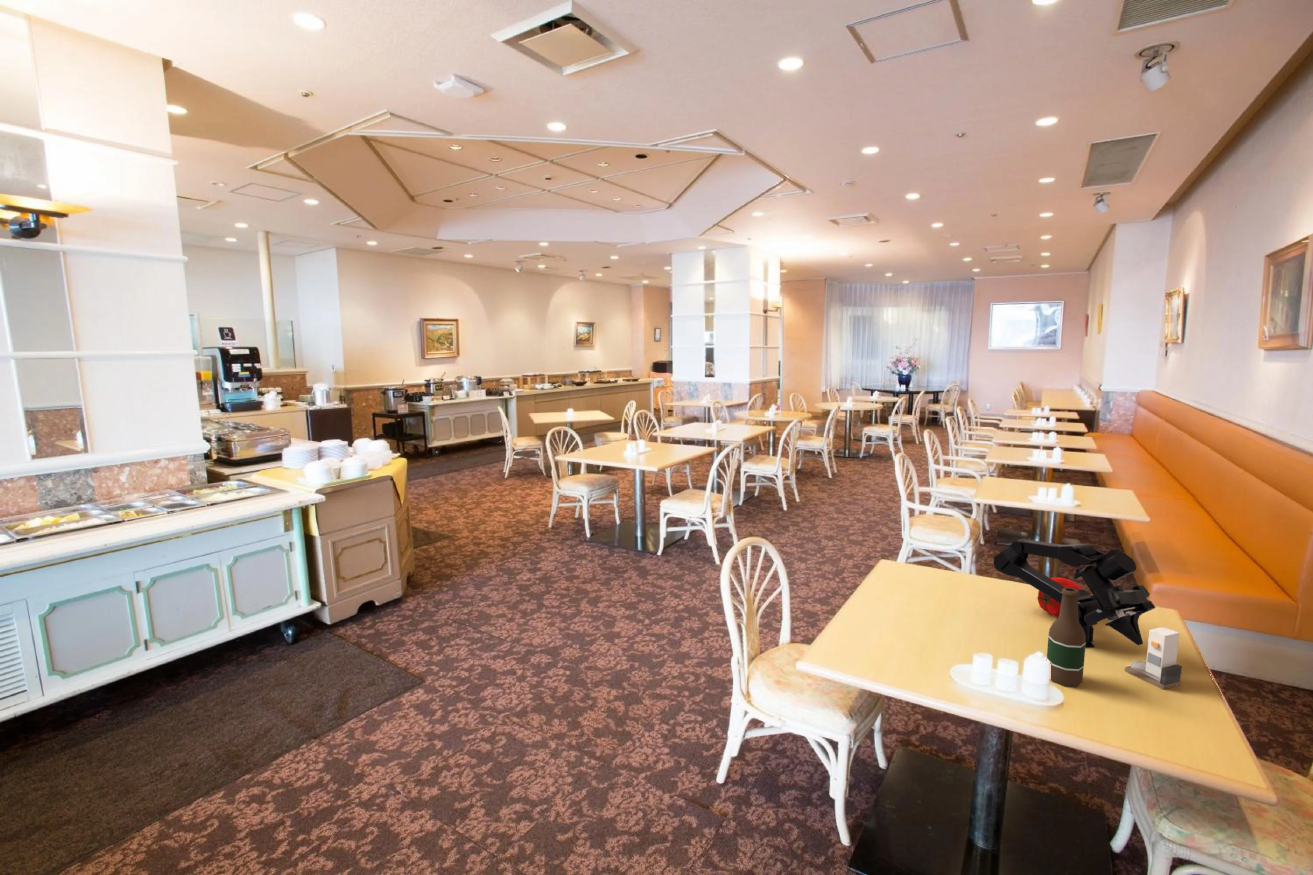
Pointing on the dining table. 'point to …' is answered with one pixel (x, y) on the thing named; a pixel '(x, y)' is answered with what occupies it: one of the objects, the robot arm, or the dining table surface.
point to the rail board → (1167, 680)
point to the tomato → (1052, 605)
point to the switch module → (1161, 650)
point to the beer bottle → (1067, 643)
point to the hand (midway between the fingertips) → (1140, 644)
